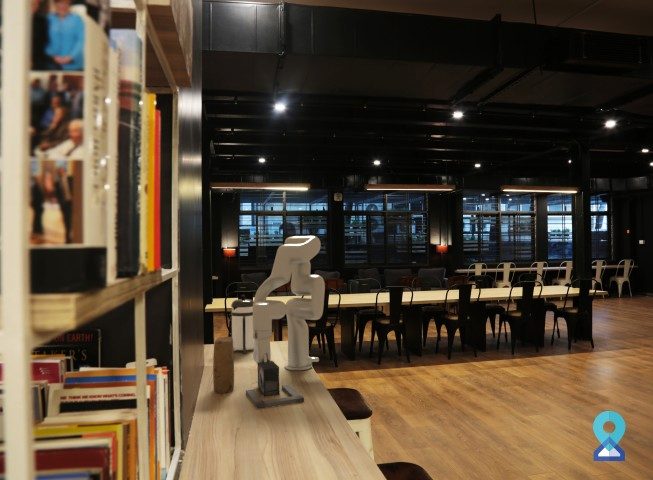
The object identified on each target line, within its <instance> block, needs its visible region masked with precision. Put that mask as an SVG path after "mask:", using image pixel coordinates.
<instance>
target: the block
mask: <svg viewBox="0 0 653 480" xmlns="http://www.w3.org/2000/svg"><path fill="white" fill-rule="evenodd" d="M234 350H235V349H233V338H232V336H222V337H221V336H219V337H217V338H216V339H215V341H214V344H213V354H212V355H213V356H212V357H213V359H212V360H213V362H212V367H213V368H212V375H213V377H212V380H213V382H212V383H213V391H214V392H215V393H219V394H226V393H230V392H232V391H234V388H235V387H234V386H235V351H234Z"/></svg>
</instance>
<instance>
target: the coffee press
mask: <svg viewBox="0 0 653 480" xmlns="http://www.w3.org/2000/svg"><path fill="white" fill-rule="evenodd" d="M253 302H254V299H253V300H252V299H250V298H249V299H248V298H246V295H245V294H241V295H240V298H239V299H235V300H233V301H232V303H231V304H230V308H231V314H230V316H231V322H230V323H231V327H230V328H231V329H230V330H231V337H232V338H233V349H234V350H236V351H242V354H243V355H244V354H246V353H247V351H248V350H254V339H253Z"/></svg>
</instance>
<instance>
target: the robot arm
mask: <svg viewBox="0 0 653 480" xmlns="http://www.w3.org/2000/svg"><path fill="white" fill-rule="evenodd" d="M321 244H322V243H321V240H320V238H319V237H318V236H315V235H300V236H299V235H295V236H289V237H286V239H285V240H284V244H282V245H280V246H279V247H278V248H277V250H276V254H275V259H274V262H273V266H272V269H271V274H270V276H269V277H267V279H265V280H264V281H263V283H261V285H260V286H259V287H258V289H257V290H256V292H255V295H254V299H253V301H254V302H253V339H254V349H253V357H252V358H253V361H254V362H255V363H256V364H257V365H258V363H262V362H267V361H269V362H270V361H272V360H271V359H272V357H271V356H272V355H271V339H272V338H273V324H272V323H273V320H280V319H283V318H284V317H285V315H286V319H287V320H286V322H287V362H286V363H285V364H284V369H286V370H289V371H306V370H310V369H312V367H313V363H317V362H318V363H319V361H320V358H319V357H318V356H317V357H316V356H309V354H310V350H309V349H310V348H309V346H310V345H309V343H310V341H309V339H310V337H309V336H310V335H309V333H310V332H309V331H310V330H309V326H308V323H307V322H306V320H307V321H308V320H310V321H317V320H320V319H321V318H322V316H323V313H324V305H325V303H324V302H325V291H326V289H325V287H326V286H325V285H326V283H325V280H324V278H323V276H321V275H319V274H311V266H312V265H311V260H312V259H313V258H314V257H315V256H317V255H318V253H319V252H320V250H321ZM290 281H291V282H290ZM289 282H290V291H291V293H293V294H294V295H296V296H311V297H310V298H306V297H292V298H290V299H288V300H287V301H286V303H285V302H283V301H281V300H276V299H275V300H273V299H267V297H268V296H269V294H270V293H271V292H273V291H274V290H276V289H277V288H280V287H282V286H283V285H286V284H288V283H289Z"/></svg>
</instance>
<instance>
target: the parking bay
mask: <svg viewBox="0 0 653 480" xmlns="http://www.w3.org/2000/svg"><path fill="white" fill-rule="evenodd" d="M281 390H282V391H283V392H284V393H285V394H286V395H287V397H279V398H273V399H272V398H271V399H266V400H264V399H263V398H262V397H261V396H260V395H259V394H258V392H257V391H256V390H255V389H254V388H253V389H246V390H245V395H246V396H247V398H249V400H250V402H251V403H252V405H254V407H255V408H256V410H259V409H266V407H267V408H272V406H274V407H279V405H281V406H286V405H293V404H300V403H304V402H305V397H304V396H303V395H302V394H301V393H299V391H297V390H296V389H295V388H294V387H293V386H291V385H290V384H283V385H281Z"/></svg>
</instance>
